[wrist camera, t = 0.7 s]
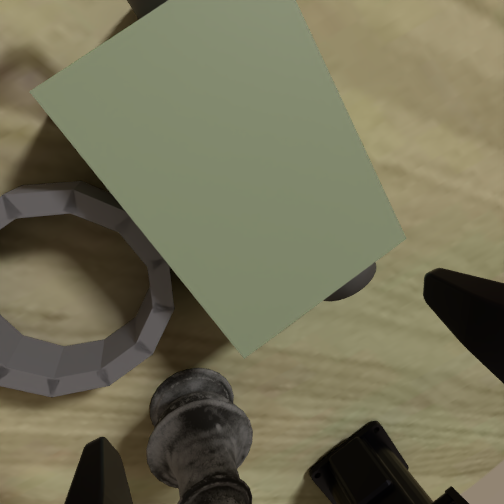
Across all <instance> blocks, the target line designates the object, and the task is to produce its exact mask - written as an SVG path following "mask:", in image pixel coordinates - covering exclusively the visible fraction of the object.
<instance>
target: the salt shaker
mask: <svg viewBox="0 0 504 504" xmlns="http://www.w3.org/2000/svg"><path fill="white" fill-rule="evenodd" d="M233 397H234V395H233V392H232V388H231V385H230V384H229V382H228V381H227V380H226V378H225V377H223V376H222V375H221V374H219V373H218V372H215V371H213V370H210V369H204V368H193V369H186V370H184V371H181V372H178V373H176V374H174V375H172V376H171V377H169V378H168V379H166V380H165V381H164V382H163V383H162V384H161V385H160V386H159V387H158V388H157V390H156V392H155V393H154V395H153V397H152V400H151V404H150V417H151V420H152V423H153V425H154V427H155V428H154V431H153V432H152V434H151V436H150V438H149V442H148V445H147V463H148V465H149V468H150V470H151V472H152V473H153V474H154V476H155V477H156V478H157V479H158V480H159V481H161V482H163V483H164V484H166V485H168V486H170V487H174V488H179V493H180V500H179V502H178V504H252V494H251V491H250V488H249V487H248V485H247V484H246V483H245V482H244V481H243V480H241V479H240V478H239V474H238V471H237V468H238V467H239V466H240V465H241V464H242V462H243V461H244V459H245V458H246V456H247V455H248V453H249V450H250V447H251V444H252V435H253V431H252V427H251V424H250V420H249V419H248V417H247V416H246V414H245V413H244V411H242V410H241V409H240V408H238V407H237V406H236V405H234V404H233Z"/></svg>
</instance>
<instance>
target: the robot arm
mask: <svg viewBox="0 0 504 504" xmlns="http://www.w3.org/2000/svg"><path fill="white" fill-rule="evenodd" d="M423 296H424V299H425V301H426V303H427V304H428V305H429V307H430V308H431V309H432V310H433V311H434V312H435V314H436V315H437V316H438V317H439V318H440V319H441V320H442V322H443V323H444V324H445V325H446V326H447V327H448V329H449V330H450V331H451V332H452V333H453V334H454V335H455V337H456V338H457V339H458V340H459V341H460V342H461V343H462V344H463V345H464V346H465V347H466V348H467V349H468V350H469V351H470V352H471V353H472V354H473V355H474V356H475V357H476V358H477V359H478V360H479V361H480V362H481V363H482V364H483V365H485V366H486V367H487V368H488V369H489V370H490V371H491V372H492V373H493V374H494V375H495V376H496V377H497V378H498V379H499V380H500V381H501V382H502V383H504V283H501V282H496V281H492V280H488V279H484V278H480V277H476V276H472V275H468V274H463V273H459V272H455V271H451V270H447V269H443V268H437V269H434V270H432V271H430V272H428V273H427V274H426V275H425V277H424V290H423ZM408 468H409V467H408V465H407V464H406V462H405V460H404V459H403V457H402V456H401V454H400V453H399V451H398V450H397V448H396V447H395V445H394V444H393V442H392V441H391V439H390V438H389V436H388V435H387V433H386V432H385V430H384V429H383V427H382V426H381V424H380V423H379V422H378V421H372V422H371V423H369V424H368V425H367V426H366V427H364V428H363V429H362V430H360V431H359V432H358V433H357V434H355V435H354V436H353V437H351V438H350V439H349V440H347V441H346V442H345V443H344V444H342V445H341V446H340V447H338V448H337V449H336V450H335V451H333V452H332V453H331V454H329V455H328V456H327V457H325V458H324V459H323V460H322V461H320V462H319V463H318V464H316V465H315V466H314V467H313V468H311V470H310V472H309V474H310V476H311V478H312V480H313V481H314V482H315V484H316V485H317V486H318V487H319V488H320V489H321V491H322V492H323V493H324V494H325V495H326V496H327V497H328V499H329V500H330V501H331V502H332V503H333V504H469V503H468V502H467V501H466V500H465V499H464V498H463V497H462V496H461V495H460V494H459V493H458V492H457V491H456V490H455V489H454V488H453V487H452V486H451V487H449V488H448V489H447V490H445V493H444V494H443V495H442V496H440V497H439V498H438V499H437V500H435V501H434V502H433V501H432V500H431V498H430V497H429V496H428V495H427V493H426V492H425V491H424V490H423V488H422V487H421V486H420V485H419V484H418V482H417V481H416V480H415V479H414V477H413V476H412V475H411V474H410V472H409V471H408ZM64 504H133V502H132V498H131V494H130V490H129V486H128V482H127V478H126V474H125V470H124V466H123V463H122V460H121V457H120V455H119V453H118V452H117V451H116V449H115V448H114V447H113V446H112V445H111V443H110V442H109V441H108V440H107V439H106V438H105V437H99V438H97V439H95V440H93V441H91V442H89V443H88V444H86V446H85V447H84V449H83V452H82V455H81V458H80V461H79V463H78V466H77V469H76V472H75V475H74V478H73V481H72V483H71V486H70V489H69V492H68V495H67V498H66V501H65V503H64Z"/></svg>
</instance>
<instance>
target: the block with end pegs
mask: <svg viewBox="0 0 504 504" xmlns="http://www.w3.org/2000/svg"><path fill="white" fill-rule="evenodd" d="M127 1H128V3H129V4H130V6H131V8H132V9H133V11H134V12H135V14H136V15H137V17H138V19H139V20H138V21H136V22H135V23H133V24H132V25H130V26H128V27H127V28H125V29H124V30H122V31H121V32H119V33H118V34H116V35H115V36H113V37H112V38H110V39H109V40H107V41H106V42H104V43H103V44H101V45H100V46H98V47H97V48H95V49H94V50H92V51H90V52H89V53H87V54H86V55H84V56H83V57H81V58H80V59H78V60H77V61H75V62H74V63H72V64H71V65H69V66H68V67H66V68H65V69H63V70H62V71H60V72H59V73H57V74H56V75H54V76H52V77H51V78H49V79H48V80H46V81H45V82H43V83H42V84H40V85H39V86H37V87H36V88H34V89H33V90H31V91H30V93H31V94H32V95H33V97H34V98H35V99H36V100H37V102H38V103H39V104H40V105H41V107H42V108H43V109H44V110H45V112H46V113H47V114H48V115H49V117H50V118H51V119H52V120H53V122H54V123H55V124H56V125H57V127H58V128H59V129H60V130H61V132H62V133H63V134H64V135H65V137H66V138H67V139H68V140H69V141H70V143H71V144H72V145H73V146H74V148H75V149H76V150H77V151H78V153H79V154H80V155H81V156H82V158H83V159H84V160H85V161H86V163H87V164H88V165H89V166H90V168H91V169H92V170H93V171H94V173H95V174H96V175H97V176H98V178H99V179H100V180H101V181H102V183H103V184H104V185H105V186H106V188H107V189H108V190H109V191H110V192H111V193H109V192H106V191H104V190H102V189H99V188H97V187H95V186H92V185H90V184H88V183H85V182H83V181H75V182H61V183H48V184H34V185H21V186H19V187H17V188H15V189H13V190H11V191H9V192H7V193H5V194H3V195H2V196H1V197H0V229H1V228H3V227H4V226H6V225H7V224H9V223H10V222H12V221H13V220H14V219H16V218H26V217H37V216H48V215H58V214H69V213H71V214H73V215H76V216H78V217H81V218H83V219H86V220H89V221H91V222H94V223H96V224H99V225H101V226H104V227H106V228H109V229H111V230H114V231H116V232H119V234H120V235H121V236H122V237H123V238H124V240H125V241H126V242H127V243H128V244H129V246H130V247H131V248H132V249H133V250H134V252H135V253H136V254H137V255H138V256H139V258H140V259H141V260H142V261H143V262H144V264H145V265H146V266H147V267H148V275H149V282H150V287H149V289H148V291H147V293H146V296H145V298H144V300H143V302H142V304H141V306H140V309H139V311H138V313H137V315H136V317H135V318H134V319H132V320H131V321H130V322H128V323H127V324H125V325H124V326H123V327H121V328H120V329H118V330H117V331H116V332H114V333H113V334H111V335H110V336H109V337H107V338H106V339H104V340H99V341H93V342H87V343H81V344H75V345H70V346H61V345H57V344H53V343H49V342H46V341H42V340H38V339H34V338H31V337H27V336H23V335H22V334H21V333H20V332H19V331H18V330H16V329H15V328H14V327H13V326H12V325H11V324H10V323H9V322H8V321H7V320H5V319H4V318H3V317H2V316H1V315H0V386H2V387H7V388H11V389H16V390H21V391H25V392H30V393H34V394H39V395H43V396H48V397H56V396H61V395H66V394H71V393H76V392H81V391H86V390H91V389H96V388H101V387H106V386H110V385H111V384H112V383H114V382H115V381H116V380H118V379H119V378H121V377H122V376H123V375H125V374H126V373H127V372H129V371H130V370H132V369H133V368H134V367H136V366H137V365H138V364H140V363H141V362H143V361H144V360H145V359H147V358H148V357H149V356H151V355H152V354H153V352H154V350H155V348H156V346H157V344H158V342H159V340H160V338H161V336H162V334H163V332H164V329H165V327H166V325H167V323H168V321H169V319H170V317H171V315H172V313H173V311H174V309H175V308H174V303H173V294H172V285H171V277H170V268H169V266H170V267H171V268H172V270H173V271H174V272H175V273H176V275H177V276H178V277H179V278H180V280H181V281H182V282H183V283H184V285H185V286H186V287H187V288H188V290H189V291H190V292H191V293H192V295H193V296H194V297H195V298H196V299H197V301H198V302H199V303H200V304H201V306H202V307H203V308H204V309H205V311H206V312H207V313H208V314H209V316H210V317H211V318H212V319H213V321H214V322H215V323H216V324H217V326H218V327H219V328H220V329H221V331H222V332H223V333H224V334H225V336H226V337H227V338H228V339H229V341H230V342H231V343H232V344H233V346H234V347H235V348H236V349H237V350H238V352H239V353H240V354H241V355H242V357H243V358H244V359H245V358H246V357H247V356H249V355H250V354H251V353H253V352H254V351H255V350H257V349H258V348H260V347H261V346H262V345H264V344H265V343H266V342H268V341H269V340H270V339H272V338H273V337H274V336H276V335H277V334H278V333H280V332H281V331H282V330H284V329H285V328H287V327H288V326H289V325H291V324H292V323H293V322H295V321H296V320H297V319H299V318H300V317H301V316H303V315H304V314H305V313H307V312H308V311H309V310H311V309H312V308H314V307H315V306H316V305H318V304H319V303H320V302H322V301H337V300H341V299H344V298H347V297H349V296H352V295H354V294H355V293H357V292H359V291H360V290H361V289H363V288H364V287H365V286H366V285H367V284H368V283H369V282H370V281H371V279H372V278H373V276H374V274H375V272H376V263H375V262H376V261H377V260H378V259H380V258H381V257H382V256H384V255H385V254H386V253H388V252H389V251H391V250H392V249H393V248H395V247H396V246H397V245H399V244H400V243H401V242H403V241H404V240H405V239H406V237H405V234H404V232H403V230H402V228H401V226H400V224H399V222H398V219H397V217H396V215H395V213H394V211H393V209H392V207H391V204H390V202H389V200H388V198H387V196H386V194H385V191H384V189H383V187H382V185H381V183H380V181H379V179H378V176H377V174H376V172H375V170H374V168H373V166H372V163H371V161H370V159H369V157H368V155H367V153H366V151H365V148H364V146H363V144H362V142H361V140H360V138H359V136H358V133H357V131H356V129H355V127H354V125H353V123H352V120H351V118H350V116H349V114H348V112H347V110H346V108H345V105H344V103H343V101H342V99H341V97H340V95H339V93H338V90H337V88H336V86H335V84H334V82H333V80H332V77H331V75H330V73H329V71H328V69H327V67H326V65H325V62H324V60H323V58H322V56H321V54H320V52H319V49H318V47H317V45H316V43H315V41H314V39H313V37H312V34H311V32H310V30H309V28H308V26H307V24H306V22H305V19H304V17H303V15H302V13H301V11H300V9H299V6H298V4H297V2H296V0H127Z"/></svg>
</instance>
